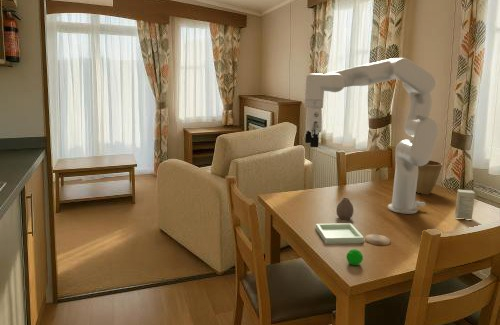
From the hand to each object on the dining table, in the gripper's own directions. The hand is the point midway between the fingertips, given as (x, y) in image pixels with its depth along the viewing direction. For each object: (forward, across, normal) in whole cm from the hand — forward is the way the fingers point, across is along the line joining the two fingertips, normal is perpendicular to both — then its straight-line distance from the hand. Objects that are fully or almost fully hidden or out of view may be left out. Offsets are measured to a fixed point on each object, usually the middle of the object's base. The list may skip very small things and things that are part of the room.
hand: (311, 144), depth 174 cm
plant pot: (+29, +28, -66) cm, 78 cm away
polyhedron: (+30, -50, -4) cm, 58 cm away
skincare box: (+29, -10, -65) cm, 72 cm away
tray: (+30, -27, -6) cm, 40 cm away
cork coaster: (+29, -32, -19) cm, 47 cm away
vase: (+30, -9, -14) cm, 34 cm away
